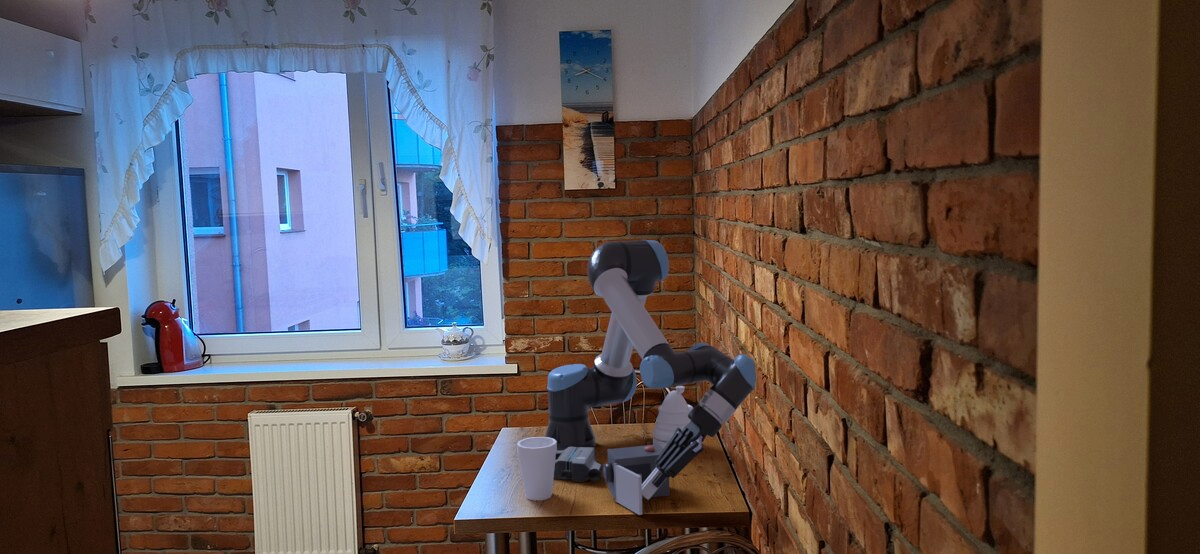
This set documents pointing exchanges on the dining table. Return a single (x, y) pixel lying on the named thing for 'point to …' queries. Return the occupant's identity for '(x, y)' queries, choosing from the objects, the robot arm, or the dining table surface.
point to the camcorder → (577, 464)
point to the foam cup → (537, 466)
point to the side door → (628, 488)
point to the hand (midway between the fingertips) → (642, 494)
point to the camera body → (635, 465)
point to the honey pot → (671, 417)
